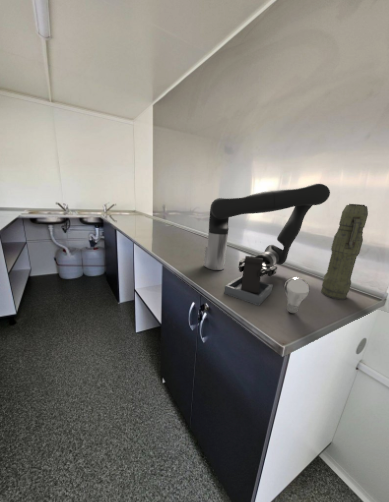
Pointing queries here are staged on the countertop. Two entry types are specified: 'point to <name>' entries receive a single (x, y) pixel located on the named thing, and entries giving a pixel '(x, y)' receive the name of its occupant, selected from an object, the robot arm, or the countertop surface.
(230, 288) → the tray
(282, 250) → the robot arm
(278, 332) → the countertop surface
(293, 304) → the light bulb
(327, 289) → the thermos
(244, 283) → the door stopper
